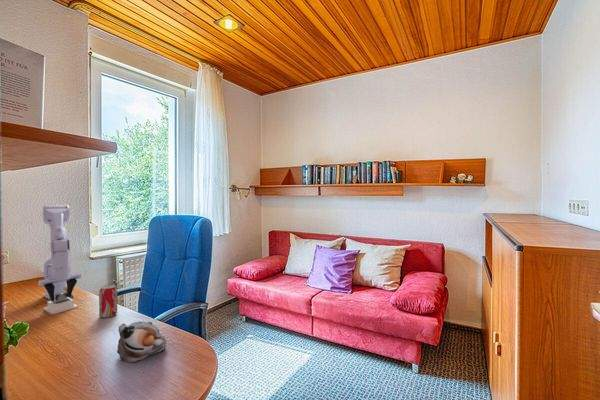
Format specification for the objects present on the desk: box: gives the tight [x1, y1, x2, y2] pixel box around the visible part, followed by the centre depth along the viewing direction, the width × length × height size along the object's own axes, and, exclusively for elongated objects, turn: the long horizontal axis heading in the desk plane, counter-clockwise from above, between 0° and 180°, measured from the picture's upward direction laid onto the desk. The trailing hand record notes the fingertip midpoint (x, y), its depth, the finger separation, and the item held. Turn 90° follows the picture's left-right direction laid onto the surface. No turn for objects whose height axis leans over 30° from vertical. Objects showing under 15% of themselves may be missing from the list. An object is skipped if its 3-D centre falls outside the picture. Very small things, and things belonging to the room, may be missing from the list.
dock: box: [43, 294, 79, 315], centre depth 133 cm, size 12×11×3 cm
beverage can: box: [98, 284, 118, 319], centre depth 124 cm, size 6×6×12 cm
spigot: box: [54, 292, 67, 304], centre depth 131 cm, size 4×4×6 cm
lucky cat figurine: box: [116, 320, 167, 364], centre depth 93 cm, size 15×12×14 cm
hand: (60, 298), depth 131 cm, fingers open, 5 cm apart
